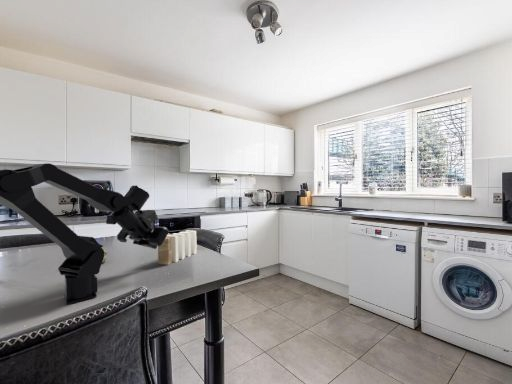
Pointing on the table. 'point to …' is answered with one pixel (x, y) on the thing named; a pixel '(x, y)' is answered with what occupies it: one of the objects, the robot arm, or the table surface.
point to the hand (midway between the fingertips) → (155, 247)
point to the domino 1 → (165, 252)
